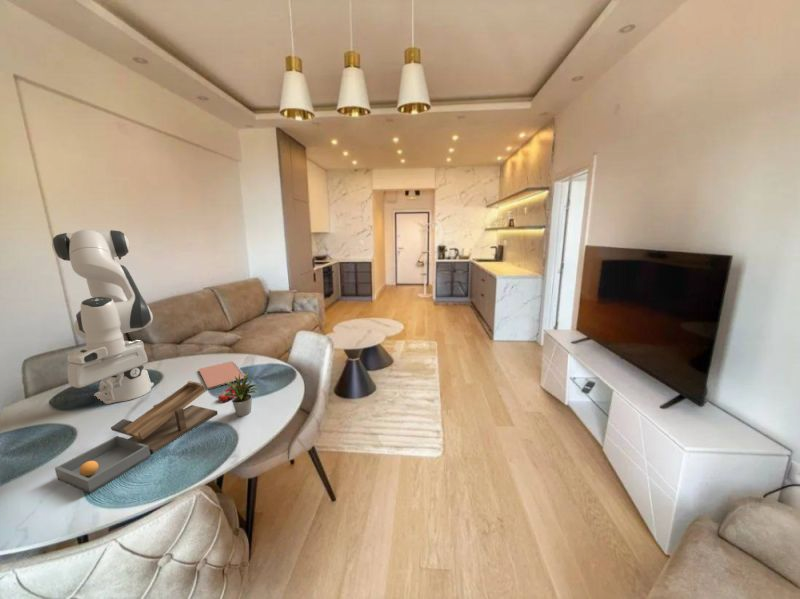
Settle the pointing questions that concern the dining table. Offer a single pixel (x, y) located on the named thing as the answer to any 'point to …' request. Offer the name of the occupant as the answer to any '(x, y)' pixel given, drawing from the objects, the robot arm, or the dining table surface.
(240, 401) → the house plant
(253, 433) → the dining table surface
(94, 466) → the ball
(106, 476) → the tray
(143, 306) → the robot arm
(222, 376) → the notebook
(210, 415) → the lever stand
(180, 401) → the lever
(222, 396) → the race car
